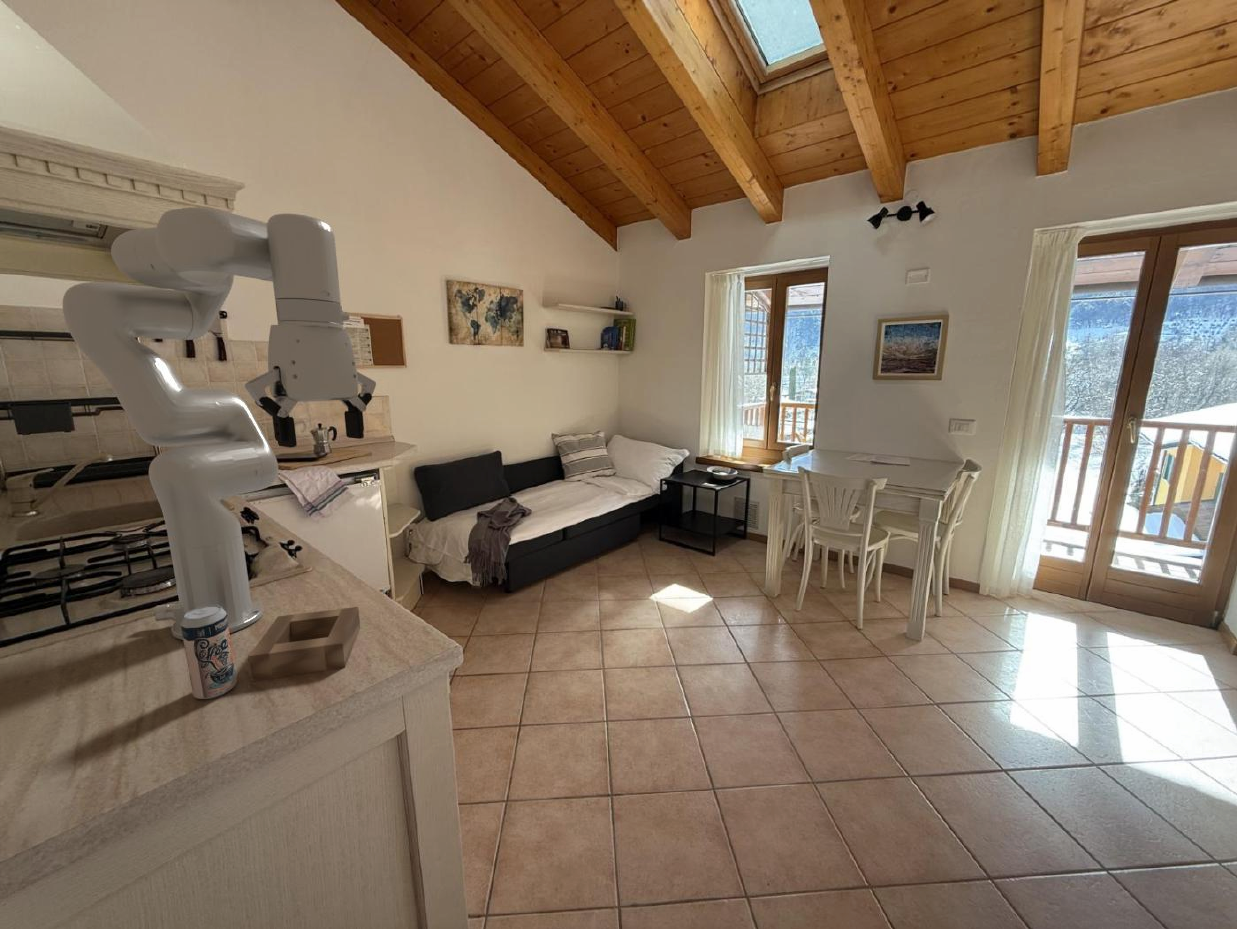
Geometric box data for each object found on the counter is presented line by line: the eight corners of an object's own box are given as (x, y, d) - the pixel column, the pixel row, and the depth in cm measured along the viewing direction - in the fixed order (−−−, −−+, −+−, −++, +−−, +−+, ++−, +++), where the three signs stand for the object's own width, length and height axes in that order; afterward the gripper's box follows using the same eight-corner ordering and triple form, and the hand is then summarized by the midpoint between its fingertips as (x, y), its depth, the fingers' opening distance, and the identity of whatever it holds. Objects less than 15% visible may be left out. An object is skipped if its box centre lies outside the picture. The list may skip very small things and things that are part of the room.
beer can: (212, 704, 66) (199, 622, 64) (184, 699, 67) (169, 618, 65) (246, 682, 71) (234, 605, 68) (218, 678, 71) (206, 601, 69)
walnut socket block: (252, 681, 71) (248, 656, 70) (280, 638, 82) (278, 616, 81) (345, 667, 74) (342, 643, 74) (360, 628, 86) (358, 606, 85)
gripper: (352, 323, 75) (362, 433, 79) (221, 310, 60) (239, 448, 64) (385, 321, 72) (393, 437, 75) (254, 308, 57) (272, 453, 60)
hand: (323, 441), depth 69 cm, fingers open, 9 cm apart
